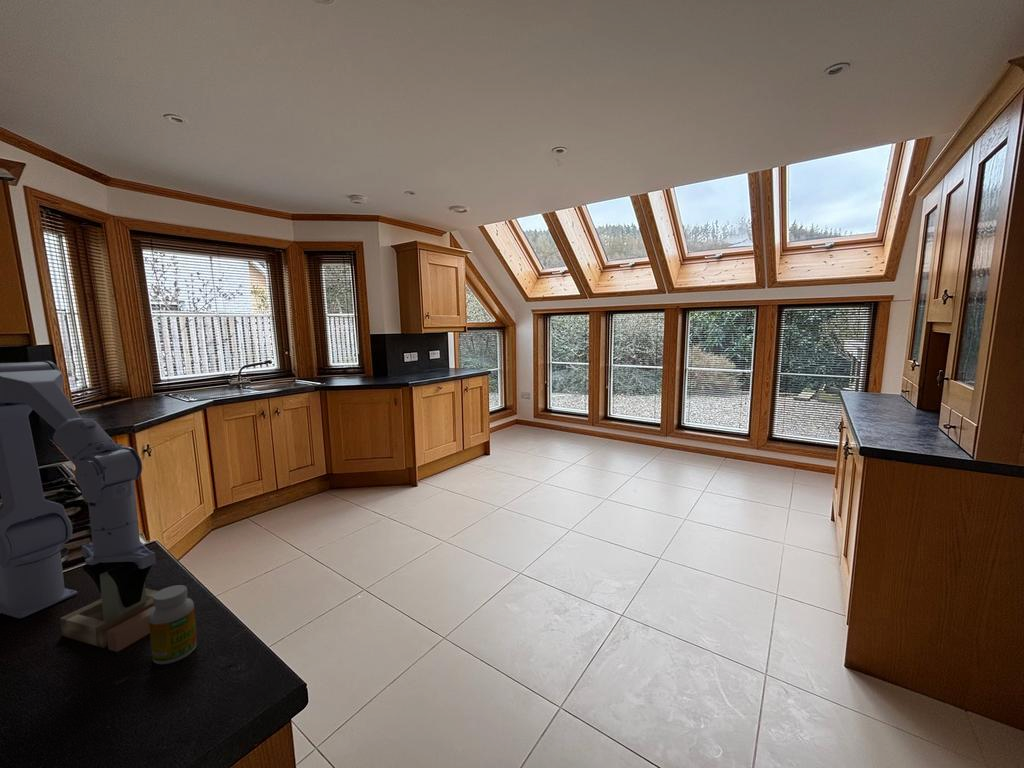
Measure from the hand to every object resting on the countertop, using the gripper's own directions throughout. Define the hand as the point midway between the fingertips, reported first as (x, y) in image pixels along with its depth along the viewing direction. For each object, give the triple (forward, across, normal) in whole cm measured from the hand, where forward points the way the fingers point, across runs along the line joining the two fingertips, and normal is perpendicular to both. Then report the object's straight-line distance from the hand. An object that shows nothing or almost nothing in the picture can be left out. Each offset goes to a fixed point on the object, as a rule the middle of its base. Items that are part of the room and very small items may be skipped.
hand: (123, 601), depth 72 cm
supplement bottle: (+4, +15, -2) cm, 16 cm away
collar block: (+4, -2, 0) cm, 4 cm away
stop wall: (+4, +6, 0) cm, 7 cm away
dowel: (+3, 0, 0) cm, 3 cm away
